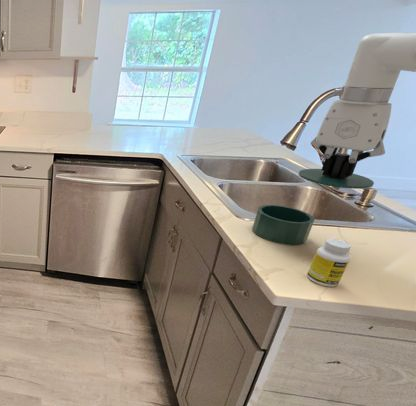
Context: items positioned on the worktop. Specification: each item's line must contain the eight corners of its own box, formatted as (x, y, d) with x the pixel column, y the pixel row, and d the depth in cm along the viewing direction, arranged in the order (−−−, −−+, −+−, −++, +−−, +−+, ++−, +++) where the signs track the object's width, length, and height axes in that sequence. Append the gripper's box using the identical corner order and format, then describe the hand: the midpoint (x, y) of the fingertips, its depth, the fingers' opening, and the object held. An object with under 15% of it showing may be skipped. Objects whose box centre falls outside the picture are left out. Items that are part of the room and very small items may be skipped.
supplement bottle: (325, 289, 80) (342, 250, 76) (300, 275, 85) (314, 238, 81) (344, 285, 81) (362, 247, 77) (318, 271, 86) (333, 235, 82)
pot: (314, 237, 100) (322, 216, 98) (292, 249, 95) (300, 227, 93) (265, 221, 110) (272, 201, 107) (243, 231, 105) (249, 210, 102)
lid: (382, 184, 84) (394, 156, 81) (357, 195, 78) (369, 165, 76) (312, 169, 94) (321, 144, 92) (286, 178, 89) (295, 152, 86)
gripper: (310, 94, 84) (287, 170, 91) (412, 100, 70) (375, 189, 78) (326, 91, 87) (302, 165, 94) (426, 97, 74) (389, 182, 81)
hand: (335, 175), depth 86 cm, fingers closed on lid, 2 cm apart
